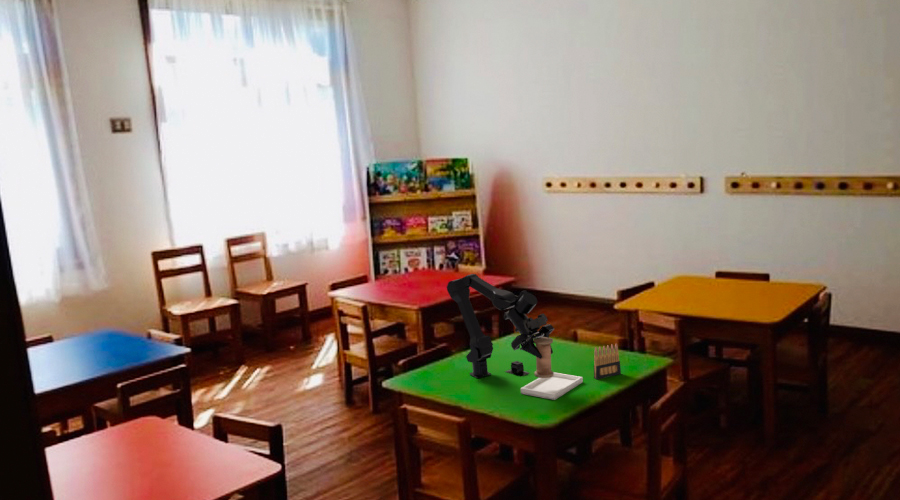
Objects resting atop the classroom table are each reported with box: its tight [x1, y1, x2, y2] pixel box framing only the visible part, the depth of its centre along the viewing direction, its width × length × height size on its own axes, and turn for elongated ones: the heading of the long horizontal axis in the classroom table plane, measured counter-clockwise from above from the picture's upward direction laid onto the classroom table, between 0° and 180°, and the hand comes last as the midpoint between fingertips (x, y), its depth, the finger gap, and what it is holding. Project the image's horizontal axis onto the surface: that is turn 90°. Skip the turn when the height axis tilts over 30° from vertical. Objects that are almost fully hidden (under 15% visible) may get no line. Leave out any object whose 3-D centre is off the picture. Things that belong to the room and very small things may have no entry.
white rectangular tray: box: [520, 371, 584, 401], centre depth 261 cm, size 20×14×2 cm
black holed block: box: [504, 360, 531, 377], centre depth 280 cm, size 12×7×5 cm, turn 36°
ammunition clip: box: [593, 342, 622, 380], centre depth 267 cm, size 11×2×12 cm, turn 111°
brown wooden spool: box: [533, 337, 554, 378], centre depth 256 cm, size 7×7×13 cm
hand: (546, 355), depth 255 cm, fingers closed on brown wooden spool, 6 cm apart
